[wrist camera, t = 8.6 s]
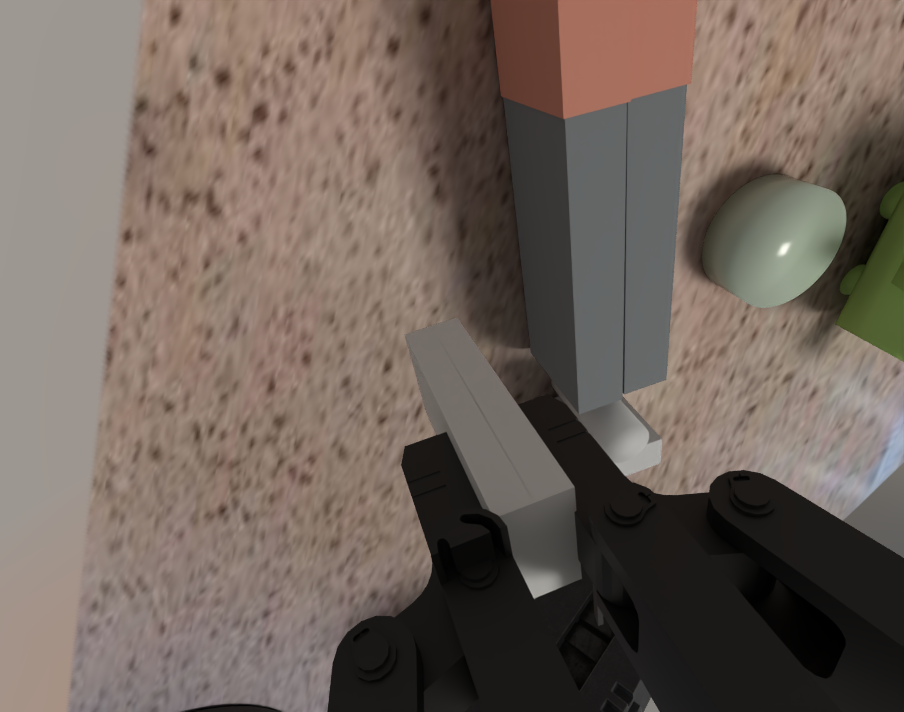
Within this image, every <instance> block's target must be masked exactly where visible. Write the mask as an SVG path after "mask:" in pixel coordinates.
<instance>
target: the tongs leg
mask: <svg viewBox="0 0 904 712" xmlns="http://www.w3.org/2000/svg"><path fill="white" fill-rule="evenodd" d="M490 1H491V11H492V20H493V29H494V38H495V47H496V56H497V65H498V74H499V83H500V92H501V96H502V97H503V100H504V109H505V118H506V128H507V137H508V146H509V155H510V165H511V174H512V183H513V192H514V202H515V211H516V220H517V229H518V239H519V248H520V257H521V267H522V276H523V285H524V294H525V304H526V313H527V322H528V331H529V341H530V350H531V353H532V355H533V356H534V357H535V359H536V360H537V361H538V362H539V364H540V365H541V366H542V368H543V369H544V370H545V371H546V373H547V374H548V375H549V377H550V378H551V379H552V380H553V382H554V383H555V384H556V386H557V387H558V388H559V389H560V391H561V392H562V393H563V395H564V396H565V397H566V398H567V400H568V401H569V402H570V404H571V405H572V406H573V407H574V409H575V410H576V411H577V412H578V414H582V413H585V412H588V411H590V410H593V409H596V408H599V407H602V406H605V405H608V404H611V403H614V402H616V401H619V400H622V393H623V327H624V262H625V196H626V130H627V102H631V77H632V25H633V0H490Z"/></svg>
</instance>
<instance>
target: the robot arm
mask: <svg viewBox="0 0 904 712" xmlns="http://www.w3.org/2000/svg"><path fill="white" fill-rule="evenodd" d="M405 338H406V341H407V345H408V349H409V352H410V356H411V359H412V363H413V367H414V370H415V374H416V377H417V381H418V385H419V388H420V392H421V395H422V399H423V403H424V406H425V410H426V413H427V415H428V417H429V419H430V422H431V424H432V426H433V428H434V431H435V433H436V436H433V437H430V438H427V439H425V440H422V441H419V442H416V443H413V444H411V445H408V446H405V449H404V454H403V459H402V464H401V466H402V469H403V472H404V475H405V478H406V481H407V484H408V487H409V490H410V493H411V496H412V499H413V502H414V505H415V508H416V511H417V514H418V517H419V520H420V523H421V526H422V529H423V532H424V535H425V538H426V541H427V544H428V547H429V550H430V553H431V558H432V573H431V576H430V579H429V582H428V585H427V586H426V588H425V589H424V591H423V592H422V594H421V595H420V596H419V597H418V598H417V599H416V600H415V601H414V602H413V603H412V604H411V605H410V606H409V607H407V608H406V609H405V610H404V611H402V612H401V613H400V614H399V615H397V616H396V617H395V618H394V617H392V616H375V617H372V618H369V619H366V620H364V621H361V622H360V623H359V624H357V625H356V626H355V627H354V628H352V629H351V630H350V631H349V632H347V634H346V635H345V637H344V638H343V640H342V641H341V643H340V644H339V646H338V648H337V651H336V654H335V658H334V661H333V666H332V675H331V684H330V693H329V703H328V712H465V711H466V710H467V709H468V708H469V707H470V706H471V705H472V704H473V703H474V702H475V701H476V700H477V699H478V698H479V700H480V703H481V706H482V709H483V712H589V710H588V708H587V706H586V704H585V702H584V700H583V698H582V696H581V694H580V692H579V690H578V688H577V686H576V684H575V682H574V680H573V677H572V675H571V673H570V671H569V669H568V667H567V665H566V663H565V661H564V659H563V657H562V655H561V653H560V651H559V649H558V647H557V645H556V643H555V641H554V639H553V637H552V635H551V633H550V631H549V628H548V626H547V624H546V622H545V620H544V618H543V616H542V614H541V612H540V610H539V608H538V606H537V604H536V602H535V600H534V598H537V597H539V596H541V595H544V594H546V593H549V592H551V591H553V590H556V589H558V588H561V587H563V586H565V585H568V584H570V583H573V582H575V581H577V580H580V579H582V575H581V565H582V566H583V568H584V570H585V571H586V573H587V575H588V576H589V578H590V580H591V581H592V583H593V599H594V615H595V618H596V621H597V624H598V626H600V625H602V624H603V616H604V617H605V619H606V621H607V622H608V624H609V626H610V628H611V629H612V631H613V633H614V634H615V636H616V638H617V640H618V641H619V643H620V645H621V646H622V648H623V650H624V651H625V653H626V655H627V657H628V658H629V660H630V662H631V663H632V665H633V667H634V669H635V670H636V672H637V674H638V675H639V677H640V679H641V680H642V682H643V684H644V686H645V687H646V689H647V691H648V692H649V694H650V696H651V697H652V699H653V701H654V703H655V704H656V706H657V708H658V709H659V711H660V712H904V558H903V557H901V556H900V555H898V554H896V553H895V552H893V551H891V550H890V549H888V548H886V547H885V546H883V545H881V544H880V543H878V542H876V541H875V540H873V539H872V538H870V537H868V536H866V535H865V534H863V533H861V532H860V531H858V530H857V529H855V528H854V527H852V526H850V525H849V524H847V523H845V522H844V521H842V520H840V519H839V518H837V517H835V516H834V515H832V514H830V513H829V512H827V511H826V510H824V509H822V508H821V507H819V506H817V505H816V504H814V503H812V502H811V501H809V500H807V499H806V498H804V497H803V496H801V495H799V494H798V493H796V492H794V491H793V490H791V489H789V488H788V487H786V486H784V485H783V484H781V483H779V482H778V481H776V480H774V479H772V478H770V477H768V476H765V475H763V474H761V473H757V472H751V471H745V470H741V471H729V472H727V473H725V474H722V475H720V476H718V477H717V478H716V479H715V480H714V481H713V483H712V484H711V485H710V490H709V492H708V493H697V494H685V495H661V494H656V493H653V492H652V491H651V490H650V489H649V488H647V487H644V486H641V485H639V484H636V483H632V482H631V481H630V480H629V479H628V478H627V477H626V476H625V475H624V474H623V473H622V472H621V470H620V469H619V468H618V467H617V466H616V464H615V463H614V462H613V461H612V459H611V458H610V457H609V456H608V455H607V453H606V452H605V451H604V450H603V449H602V447H601V446H600V445H599V444H598V442H597V441H596V440H595V439H594V438H593V436H592V435H591V434H590V433H588V430H587V429H586V428H585V427H584V425H583V424H582V423H581V422H579V421H578V418H577V417H576V416H575V414H574V413H573V412H572V411H571V410H570V408H569V407H568V406H567V405H566V404H565V403H563V402H561V401H559V400H557V399H556V398H554V397H552V396H550V395H548V394H547V395H544V396H541V397H538V398H535V399H533V400H530V401H527V402H524V403H521V404H519V405H518V404H517V403H516V402H515V400H514V399H513V397H512V396H511V394H510V393H509V391H508V390H507V389H506V387H505V386H504V384H503V383H502V381H501V380H500V378H499V377H498V376H497V374H496V373H495V371H494V370H493V368H492V367H491V365H490V364H489V363H488V361H487V360H486V358H485V357H484V355H483V354H482V352H481V351H480V350H479V348H478V347H477V345H476V344H475V342H474V341H473V339H472V338H471V337H470V335H469V334H468V332H467V331H466V329H465V328H464V326H463V325H462V324H461V322H460V321H459V319H458V318H454V319H451V320H448V321H445V322H442V323H439V324H436V325H433V326H430V327H426V328H423V329H420V330H417V331H414V332H411V333H408V334H405ZM196 712H278V711H275V710H271V709H267V708H261V707H251V706H231V707H219V708H212V709H206V710H200V711H196Z"/></svg>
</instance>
